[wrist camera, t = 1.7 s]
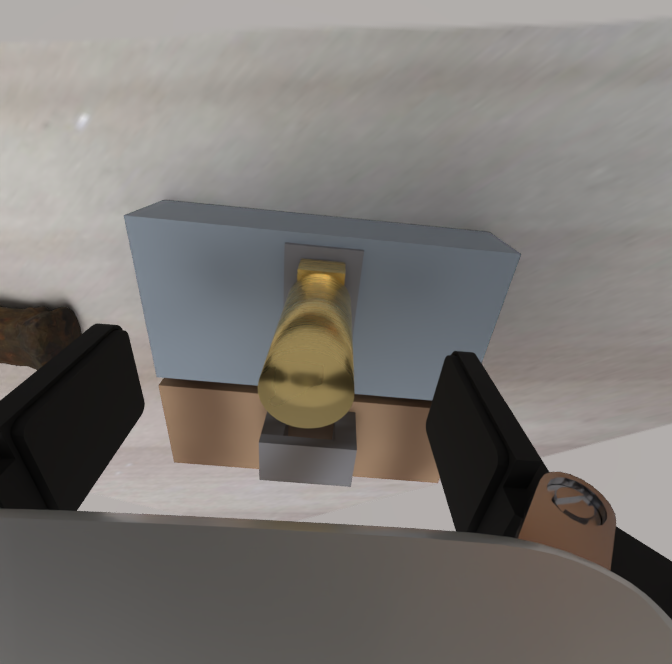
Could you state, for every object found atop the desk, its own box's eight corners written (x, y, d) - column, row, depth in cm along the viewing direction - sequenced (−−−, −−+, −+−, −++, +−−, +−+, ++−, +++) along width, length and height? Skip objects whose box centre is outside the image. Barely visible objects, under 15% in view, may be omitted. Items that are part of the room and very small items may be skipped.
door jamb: (446, 371, 24) (480, 449, 18) (426, 438, 28) (448, 523, 22) (185, 348, 24) (132, 421, 18) (195, 419, 27) (154, 501, 21)
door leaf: (489, 232, 20) (524, 256, 16) (449, 364, 24) (468, 406, 20) (163, 199, 19) (120, 216, 15) (184, 340, 24) (154, 380, 20)
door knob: (354, 263, 16) (360, 354, 9) (339, 385, 19) (336, 511, 13) (292, 257, 16) (256, 345, 9) (288, 381, 19) (260, 506, 13)
